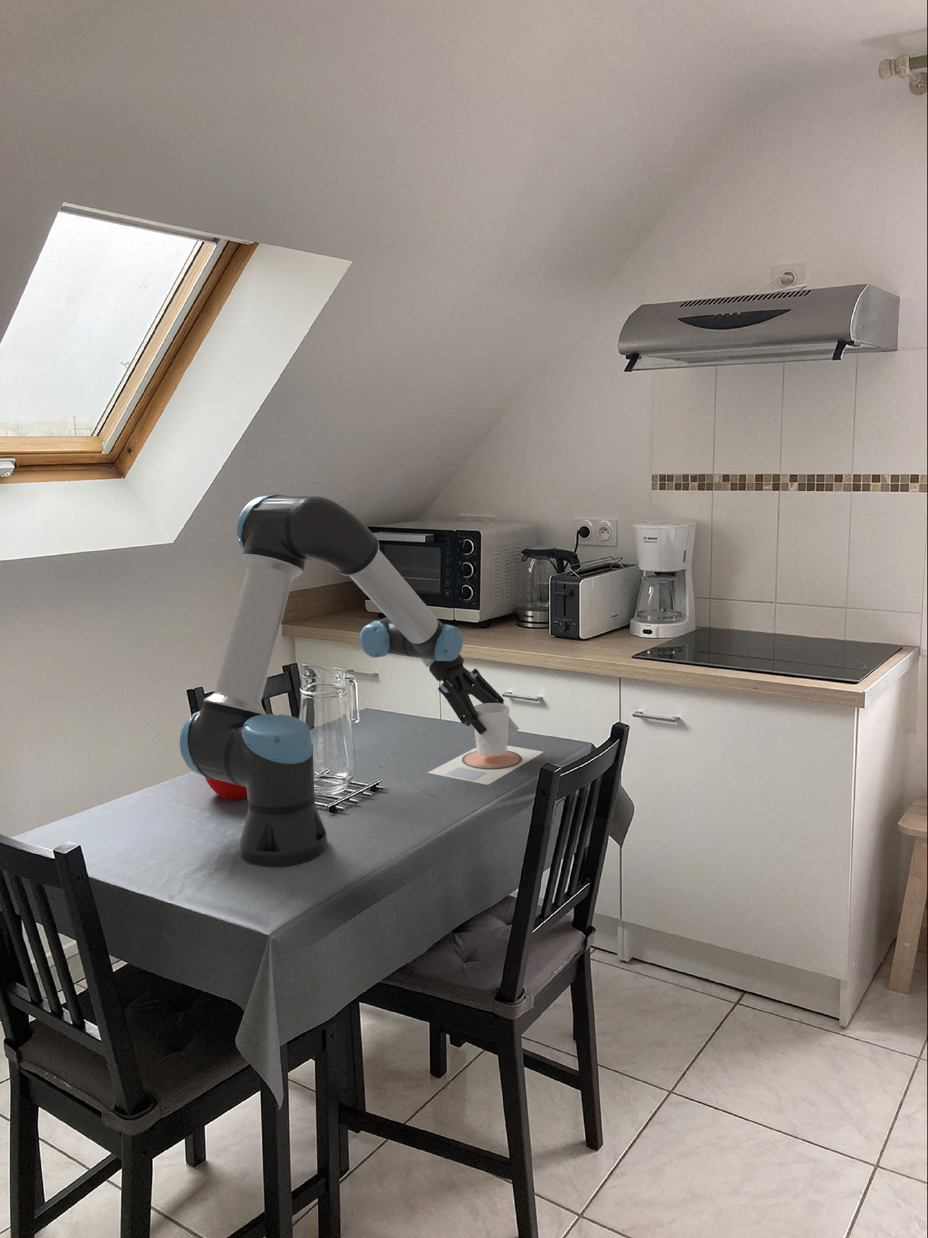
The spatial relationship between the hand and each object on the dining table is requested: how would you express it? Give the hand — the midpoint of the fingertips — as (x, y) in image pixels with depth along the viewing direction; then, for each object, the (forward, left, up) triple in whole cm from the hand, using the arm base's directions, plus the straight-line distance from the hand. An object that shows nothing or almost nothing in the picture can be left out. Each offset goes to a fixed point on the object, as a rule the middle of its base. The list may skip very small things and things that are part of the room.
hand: (505, 738), depth 220 cm
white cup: (-1, +3, -4) cm, 5 cm away
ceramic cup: (-52, +19, -6) cm, 56 cm away
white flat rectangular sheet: (-3, +2, -6) cm, 7 cm away
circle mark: (-2, +3, -5) cm, 6 cm away
